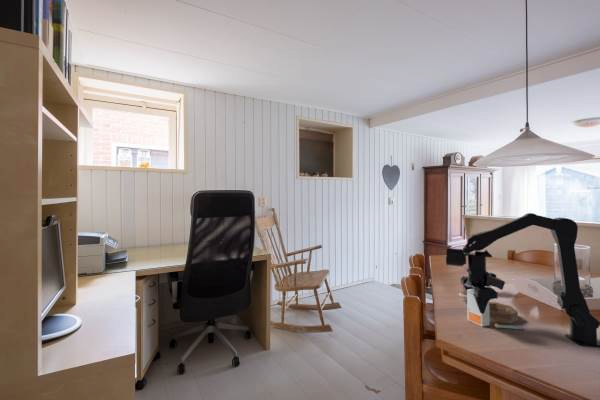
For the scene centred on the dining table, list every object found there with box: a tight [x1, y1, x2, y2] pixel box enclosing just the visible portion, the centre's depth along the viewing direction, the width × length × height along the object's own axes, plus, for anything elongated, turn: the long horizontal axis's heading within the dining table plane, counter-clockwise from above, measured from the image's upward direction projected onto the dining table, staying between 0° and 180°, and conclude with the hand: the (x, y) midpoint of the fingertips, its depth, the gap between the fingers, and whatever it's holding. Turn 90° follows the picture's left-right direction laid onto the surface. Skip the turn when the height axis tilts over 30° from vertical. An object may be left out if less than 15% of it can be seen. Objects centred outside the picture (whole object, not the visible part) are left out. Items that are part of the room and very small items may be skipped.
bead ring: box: [489, 301, 519, 324], centre depth 111 cm, size 12×12×4 cm
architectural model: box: [459, 284, 467, 302], centre depth 127 cm, size 3×7×7 cm, turn 67°
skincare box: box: [466, 289, 491, 327], centre depth 105 cm, size 6×4×12 cm
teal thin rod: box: [494, 323, 525, 330], centre depth 100 cm, size 9×1×1 cm, turn 77°
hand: (478, 309), depth 105 cm, fingers closed on skincare box, 7 cm apart
